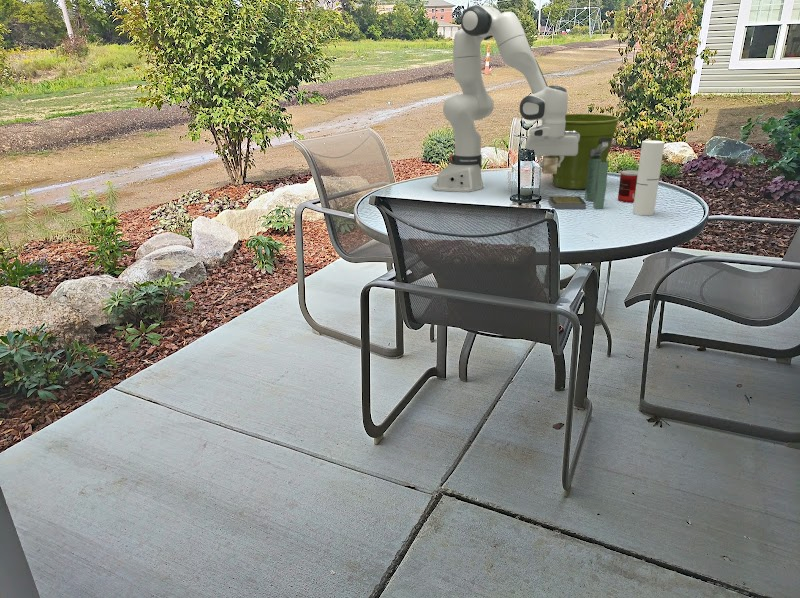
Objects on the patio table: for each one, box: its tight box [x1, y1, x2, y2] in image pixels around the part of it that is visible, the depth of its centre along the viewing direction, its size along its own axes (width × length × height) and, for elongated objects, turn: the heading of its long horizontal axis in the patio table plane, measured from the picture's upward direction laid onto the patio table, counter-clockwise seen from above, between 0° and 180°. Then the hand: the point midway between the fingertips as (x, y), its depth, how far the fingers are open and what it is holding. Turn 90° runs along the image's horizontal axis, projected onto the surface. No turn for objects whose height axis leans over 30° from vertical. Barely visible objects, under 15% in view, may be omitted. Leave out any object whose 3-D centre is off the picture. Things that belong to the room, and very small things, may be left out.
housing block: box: [541, 155, 558, 175], centre depth 231 cm, size 5×5×6 cm
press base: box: [547, 157, 609, 210], centre depth 223 cm, size 19×17×17 cm
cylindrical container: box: [632, 140, 665, 216], centre depth 206 cm, size 7×7×25 cm
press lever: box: [589, 138, 611, 157], centre depth 218 cm, size 16×4×4 cm, turn 176°
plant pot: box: [551, 113, 620, 190], centre depth 251 cm, size 30×30×29 cm
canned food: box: [617, 169, 638, 203], centre depth 228 cm, size 8×8×11 cm
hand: (549, 166), depth 231 cm, fingers closed on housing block, 5 cm apart
